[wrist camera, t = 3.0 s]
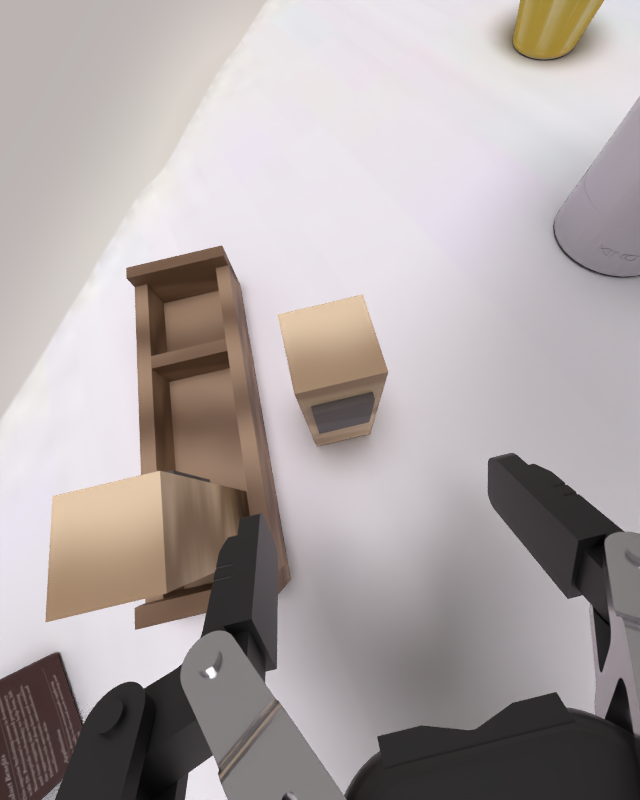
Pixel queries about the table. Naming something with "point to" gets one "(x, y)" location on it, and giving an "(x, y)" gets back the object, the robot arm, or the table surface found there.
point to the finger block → (335, 367)
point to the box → (36, 729)
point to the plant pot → (551, 26)
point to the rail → (173, 457)
